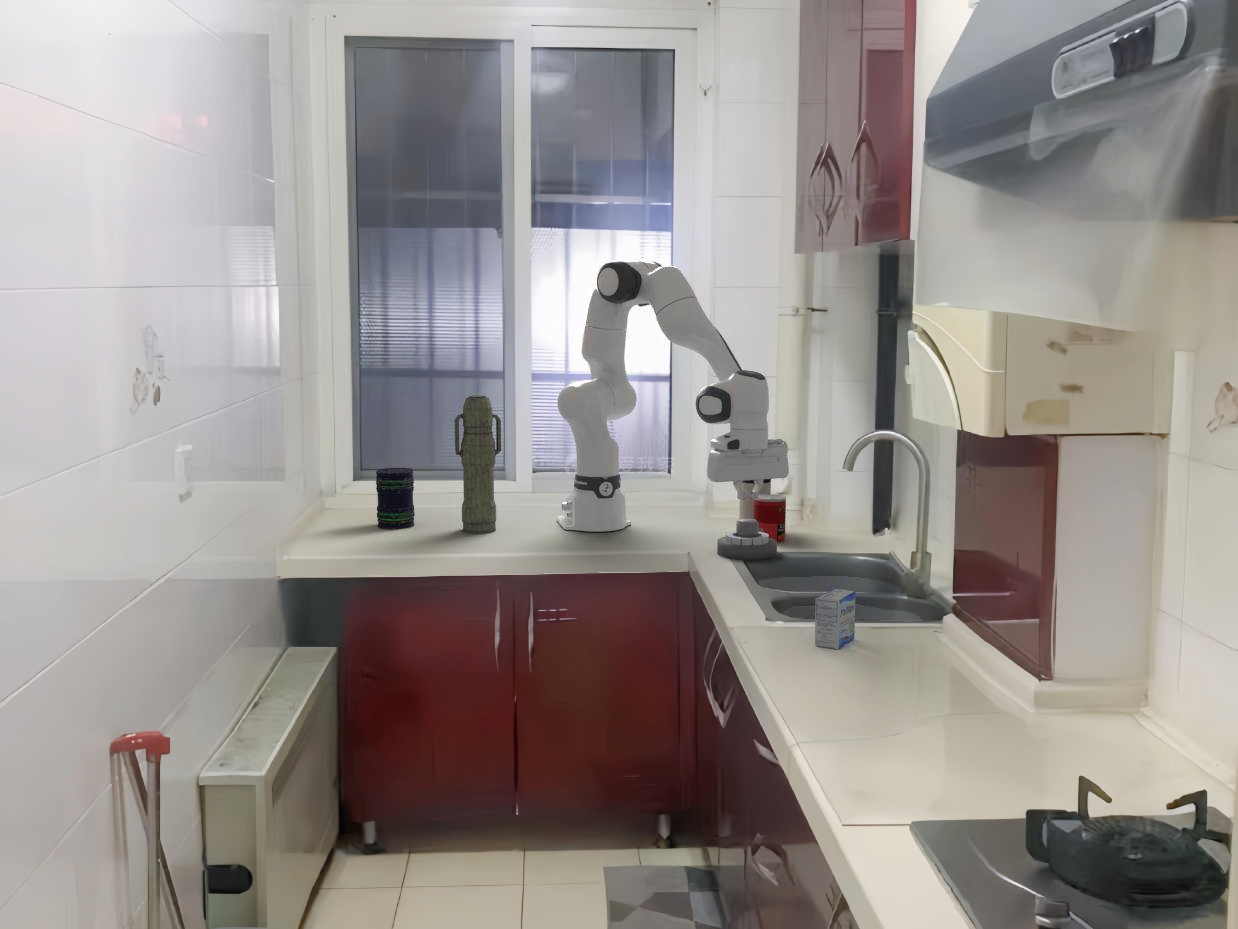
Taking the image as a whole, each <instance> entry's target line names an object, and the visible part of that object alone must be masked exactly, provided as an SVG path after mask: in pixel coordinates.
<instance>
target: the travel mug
mask: <svg viewBox="0 0 1238 929" xmlns="http://www.w3.org/2000/svg"><path fill="white" fill-rule="evenodd" d="M771 483H772V479H763V485H762V487H761V489H760V491H759V495H761V494H771V492H772V491H771V490H772V489H771V486H772V484H771ZM755 484H756V483H754V480H745V481H743V485H740V486H741V488H742V490H743V491H744V492H747V493H746V499H744V500H739V505H738V506H739V508H738V509H739V511H738V512H739V515H738V516H739V517H738V518H739V519H754V499H752V498H750V491H751V490H753V488H754V486H755ZM739 519H738V520H739Z"/></svg>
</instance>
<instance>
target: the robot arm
mask: <svg viewBox="0 0 1238 929" xmlns="http://www.w3.org/2000/svg"><path fill="white" fill-rule="evenodd" d="M634 306H638V307H641V308H642V307H646V306H650V307H651V309H652V312H653V314H654V317H655V319H656V321H657V324H658V326H659V328H660V330H661V332H662V334H664V336H665V337H666V339H667V340H668V341H669V342H671V343H673V344H675V345H677V346H681V347H683V348H686V349H689V350H690V351H693V352H695V353H698V354H699V355H700V356H702V357H703V358H704V359H705V360H706V361H707V362H708V364H709V366H710V367H711V370H712V371H713V372H714V374H715V375H716V378H717V379H718V382H714V383H712V384H709V385H705V386H702V387H701V389H700V390H699V391H698V393H697V395H696V399H695V409H696V412H697V415H698V417H699V418H700V419H701V420H702V421H703V422H704V423H706V424H711V425H723V424H725V425H726V424H729V426H730V428H729V430H730V431H729V432H726V433H725V434H722V435H720V436H717V437H714V438H712V439H711V441H710V447H711V448H712V450H711V451H710V452H709V454H708V456H707V458H708V459H707V468H706V476H707V479H709V481H710V482H713V483H725V482H726V483H728V482H732V485H733V488H734V489H735V491H736V493H737V499H738V500H739V501H740V500H744V499H746V493H747V492H744V491H743V490H742V488H741V486H740V485H743V481H745V480H754V483H756V484H755V486H754V488H753V490H751V491H750V498H752V499H758V498H759V491H760V489H761V487H762V485H763V479H771V480H773V479H774V480H775V479H785V478H787V477H788V475H789V472H790V470H789V467H790V466H789V458H788V451H789V448H788V444H787V442H786V441H785V440H783V439H782V438H777V439H769V424H768V418H767V417H768V413H769V407H770V405H769V404H770V403H769V402H770V400H769V398H770V397H769V396H770V394H769V386H768V380H767V378H766V376H765V375H764V374H762V373H760V372H757V371H753V370H748V369H747V370H746V369H745V370H743V369H742V367H741V365H740V364H739V361H738V360H737V358H736V357H735V355H734V353H733V352H732V350H731V348H730V346H729V344H728V343H727V341H726V339H725V338H724V337H723V335H722V334H721V332H720V331H719V330H718V329H717V327H716V326H715V325H714V324H713V323H712V322H711V320H710V319H709V318H708V316H707V314H706V313H705V311H704V309H703V308H702V306H701V304H700V301H699V300H698V298H697V296H696V294H695V291H694V290H693V288H692V286H691V284H690V283H689V282H688V280H687V278H686V277H685V275H684V274H683V273H682V271H681V270H680V269H679V268H678V267H676V266H672V265H663V264H661V263H658V262H656V261H647V260H642V259H641V260H640V259H633V260H619V259H618V260H612V261H609V262H606V263H604V264H603V265H602V266H600V268H599V270H598V272H597V275H596V278H595V286H594V287H593V289H592V290H591V292H590V295H589V298H588V301H587V305H586V311H585V317H584V323H583V334H582V344H581V356H582V358H583V359H584V361H586V362H587V364H588V366H589V369H590V380H581V381H576V382H574V383H570V384H569V385H566V386H565V387H563V388H562V389H561V391H560V392H559V394H558V396H557V409H558V412H559V414H560V416H561V417H562V418H563V419H564V420H565V421H566V423H567V424H568V425H569V427H570V429H571V431H572V435H573V439H574V442H575V450H576V452H575V453H576V474H575V476H574V481H573V482H574V483H573V487H574V489H573V490H572V491H571V493H570V494H569V495H568V496H567V498H565V501H563V502H561V511H563V512H564V514H563V515H558V516H557V517H556V521H557V522H558V524H559V525H560V526H561V527H562V529H564V530H567V531H580V532H581V531H582V532H612V531H618V530H622V529H624V528H625V527H629V526H631V525H632V521H631V520H629V519H627V509H626V508H627V507H626V497H625V494H624V493H623V491H621V489H620V488H621V483H622V482H621V481H622V480H621V474H620V473H619V471H620V467H619V466H620V465H619V464H620V463H619V462H620V456H619V455H620V454H619V453H620V452H619V451H620V447H619V444H618V443H617V441H616V440H615V439H614V438H612V436H611V433H610V430H609V426H608V421H616V420H619V419H622V418H624V417H626V416H628V415H630V414H631V413H632V412H633V411H634V409H635V408H636V405H637V392H636V390H635V388H634V386H633V385H632V384H631V382H630V381H629V379H628V375H627V370H626V365H625V363H626V362H625V352H626V340H627V328H628V320H629V319H628V318H629V313H630V311H631V309H632V308H634Z"/></svg>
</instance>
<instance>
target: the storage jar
mask: <svg viewBox="0 0 1238 929" xmlns="http://www.w3.org/2000/svg"><path fill="white" fill-rule="evenodd" d="M375 474H376V476H375V477H376V478H375V479H376V480H375V485H376V492H377V506H376V518H377V528H379V529H383V530H404V529H405V530H406V529H411V528H413V527H415V505H414V491H415V490H414V489H415V487H414V483H415V480H414V469H413V468H409V467H386V468H381V469H380V468H379V469H376V470H375Z"/></svg>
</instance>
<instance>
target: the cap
mask: <svg viewBox="0 0 1238 929" xmlns="http://www.w3.org/2000/svg"><path fill="white" fill-rule="evenodd" d="M758 526H759V522H758V521H757V520H755V519H738V520H737V521H736V526H735V527H736V529H735V531H736V537H743V538H754V537H758Z"/></svg>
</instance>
